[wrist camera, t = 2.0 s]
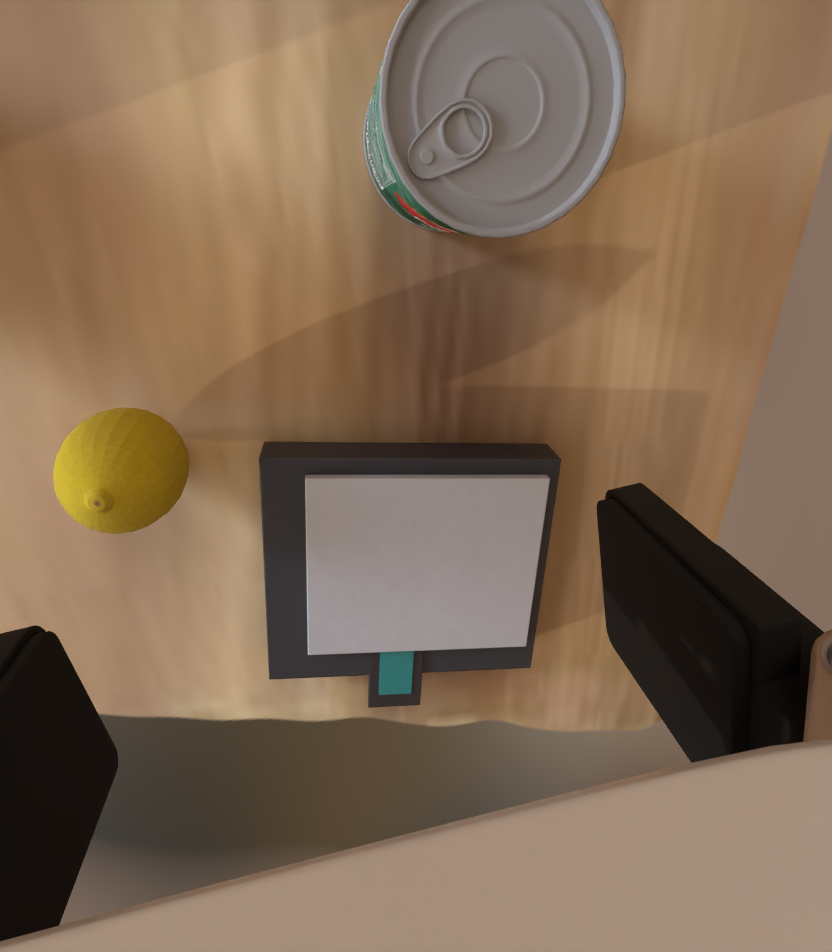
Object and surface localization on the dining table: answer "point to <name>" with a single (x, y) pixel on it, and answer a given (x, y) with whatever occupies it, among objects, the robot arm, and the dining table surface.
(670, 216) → the dining table surface
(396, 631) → the scale
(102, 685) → the dining table surface
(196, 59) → the dining table surface
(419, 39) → the canned tomato
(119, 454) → the lemon
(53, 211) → the dining table surface
